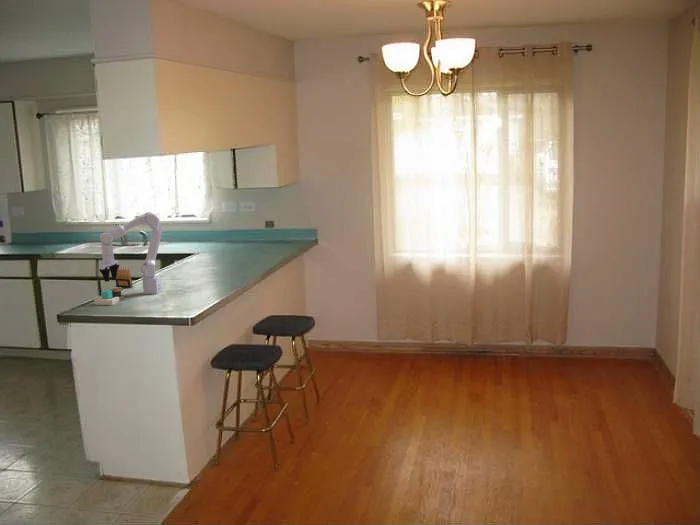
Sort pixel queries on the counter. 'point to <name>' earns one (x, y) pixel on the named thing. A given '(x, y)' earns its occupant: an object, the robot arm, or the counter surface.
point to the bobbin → (117, 292)
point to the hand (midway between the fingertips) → (110, 279)
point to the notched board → (106, 301)
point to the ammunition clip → (123, 278)
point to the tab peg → (106, 294)
